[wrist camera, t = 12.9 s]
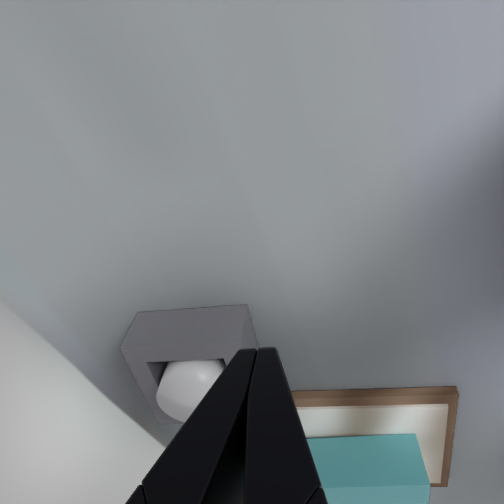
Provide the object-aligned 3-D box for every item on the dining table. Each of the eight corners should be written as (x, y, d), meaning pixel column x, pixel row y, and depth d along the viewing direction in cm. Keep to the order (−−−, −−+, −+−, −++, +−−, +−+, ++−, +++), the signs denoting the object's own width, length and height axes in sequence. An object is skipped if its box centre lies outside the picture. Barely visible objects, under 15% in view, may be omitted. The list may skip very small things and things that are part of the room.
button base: (247, 304, 24) (240, 341, 22) (267, 382, 28) (263, 422, 25) (137, 312, 25) (119, 348, 23) (170, 386, 29) (158, 423, 27)
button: (225, 337, 24) (216, 378, 22) (239, 381, 26) (232, 423, 24) (162, 341, 25) (146, 380, 23) (180, 384, 27) (168, 424, 25)
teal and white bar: (415, 432, 28) (430, 485, 25) (414, 461, 30) (428, 514, 27) (242, 441, 30) (238, 491, 27) (251, 468, 31) (248, 517, 29)
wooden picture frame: (455, 386, 26) (462, 404, 25) (445, 478, 32) (450, 496, 31) (227, 393, 29) (224, 409, 28) (256, 477, 35) (254, 492, 34)
